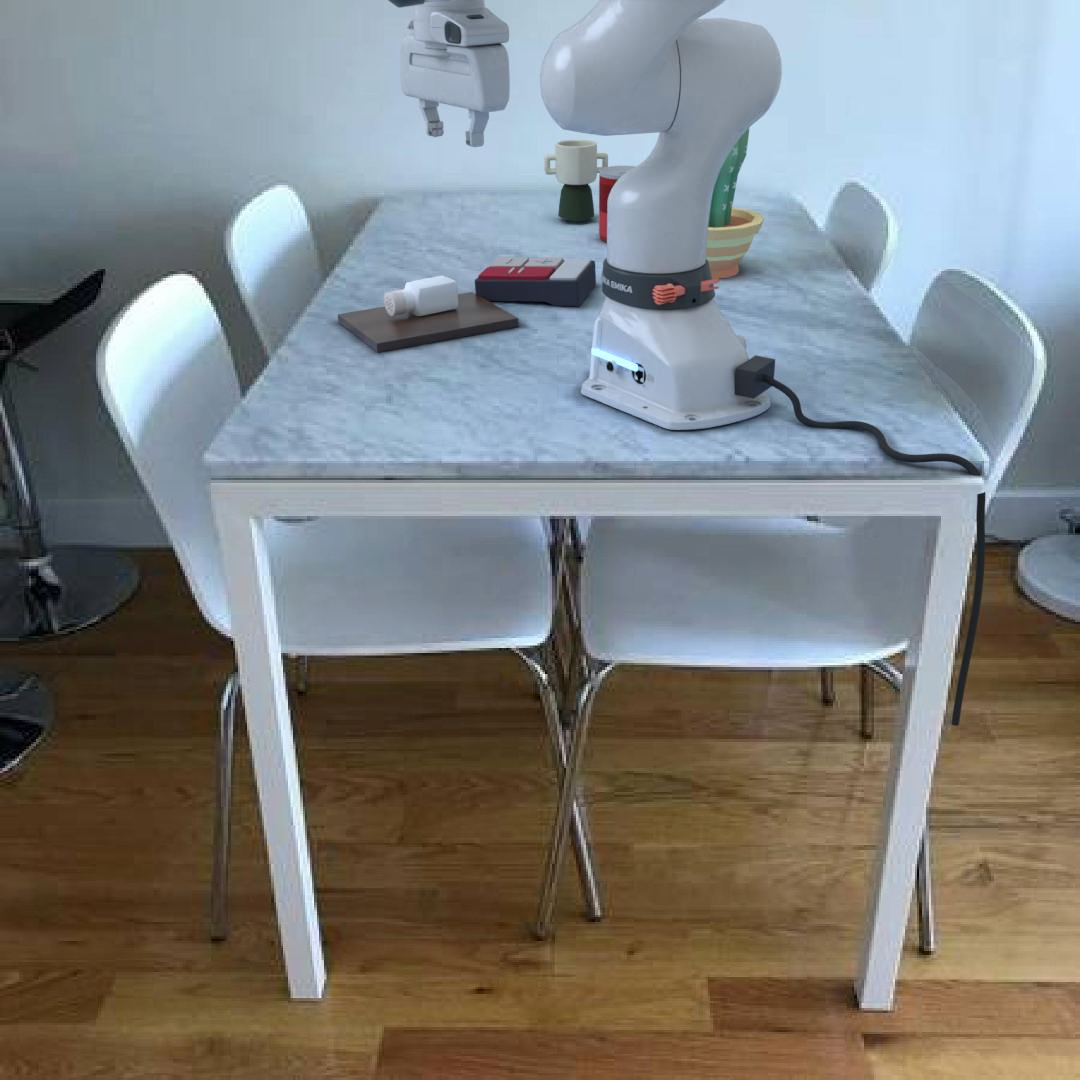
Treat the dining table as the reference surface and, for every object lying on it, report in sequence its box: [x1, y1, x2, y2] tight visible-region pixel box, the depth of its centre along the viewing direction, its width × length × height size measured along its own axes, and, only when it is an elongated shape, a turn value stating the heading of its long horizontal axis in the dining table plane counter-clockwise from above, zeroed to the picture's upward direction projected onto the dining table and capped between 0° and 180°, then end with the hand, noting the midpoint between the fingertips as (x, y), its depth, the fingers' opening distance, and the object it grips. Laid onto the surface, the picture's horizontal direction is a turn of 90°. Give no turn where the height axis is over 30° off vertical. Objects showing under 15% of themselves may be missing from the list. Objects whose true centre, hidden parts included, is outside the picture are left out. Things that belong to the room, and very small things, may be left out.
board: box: [337, 291, 520, 353], centre depth 163 cm, size 14×20×1 cm
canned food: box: [598, 165, 637, 243], centre depth 200 cm, size 8×8×11 cm
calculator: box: [474, 256, 597, 307], centre depth 175 cm, size 11×4×15 cm
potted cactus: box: [706, 126, 765, 279], centre depth 179 cm, size 15×15×25 cm
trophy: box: [543, 139, 609, 222], centre depth 211 cm, size 11×7×13 cm, turn 95°
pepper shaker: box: [383, 275, 459, 316], centre depth 164 cm, size 4×4×10 cm
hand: (454, 140), depth 157 cm, fingers open, 8 cm apart
